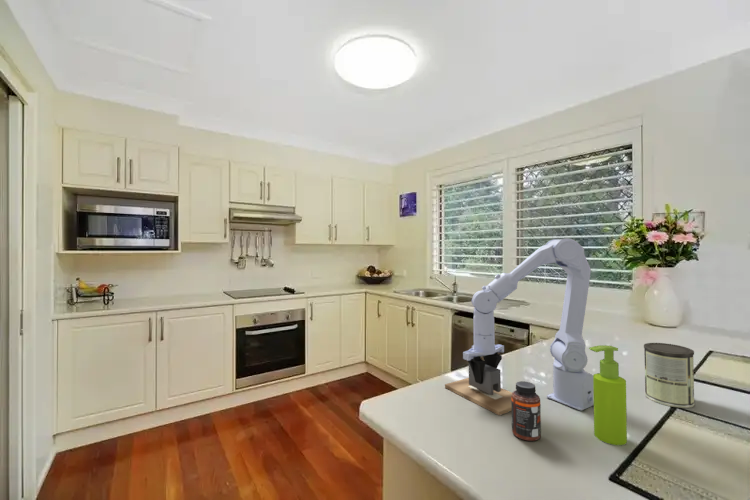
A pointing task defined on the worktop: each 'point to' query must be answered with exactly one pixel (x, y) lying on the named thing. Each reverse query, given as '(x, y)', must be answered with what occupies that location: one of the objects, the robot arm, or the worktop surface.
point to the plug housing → (487, 380)
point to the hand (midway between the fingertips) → (484, 381)
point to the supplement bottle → (526, 412)
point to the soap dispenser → (609, 399)
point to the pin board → (483, 396)
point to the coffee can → (669, 374)
